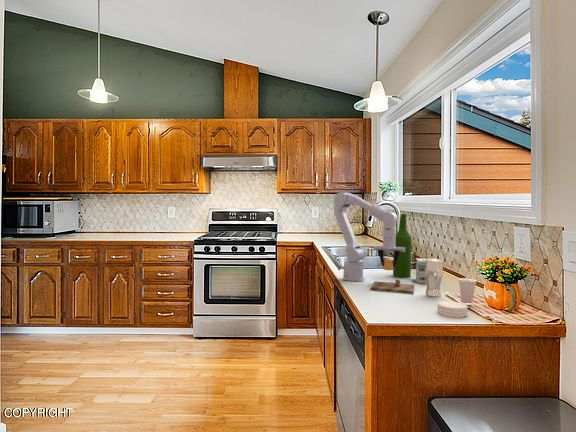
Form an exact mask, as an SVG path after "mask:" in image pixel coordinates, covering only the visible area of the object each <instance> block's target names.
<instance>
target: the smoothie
mask: <svg viewBox="0 0 576 432" xmlns="http://www.w3.org/2000/svg"><path fill="white" fill-rule="evenodd" d="M458 283H459V292H460V293H459V295H460V303H461V302H463V303H472V304H473V301H474V294H475V288H476V284H477V280H476V279H474V278H468V268H465V277H464V278H463V277H461V278H458Z"/></svg>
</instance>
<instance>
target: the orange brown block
mask: <svg viewBox="0 0 576 432" xmlns="http://www.w3.org/2000/svg"><path fill="white" fill-rule="evenodd" d="M382 267H383V270H384V271H393V270H394V260H393V258H384V262H383V266H382Z"/></svg>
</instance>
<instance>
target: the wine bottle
mask: <svg viewBox="0 0 576 432" xmlns="http://www.w3.org/2000/svg"><path fill="white" fill-rule="evenodd" d="M412 242H413V241H412V236H411V235H410V233H409V231H408V230H407V213H406V214H405V213H401V214H400V223H399V229H398V231H396V242H395V247H404V248H405V252H400V254H399V256H398V258H397V261H396V267H394V270H392V276H393V277H394V278H399V279H408V278H411V275H412V273H411V272H412V245H413V244H412ZM394 252H395V251H393V253H394ZM392 260H394V255H393V257H392Z"/></svg>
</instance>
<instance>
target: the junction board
mask: <svg viewBox="0 0 576 432" xmlns="http://www.w3.org/2000/svg"><path fill="white" fill-rule="evenodd" d="M369 289H370V291H374V292H375V291H378V292H385V293H386V292H387V293H397V294H399V293H400V294H409V295H410V294H411V295H414V292H415V291H414V290H415V284H411V283H401V279H400V278H399V279H398V278H396V279H395V282H386V281H374V282H373V283H372V284H371V286H370V288H369Z"/></svg>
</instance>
